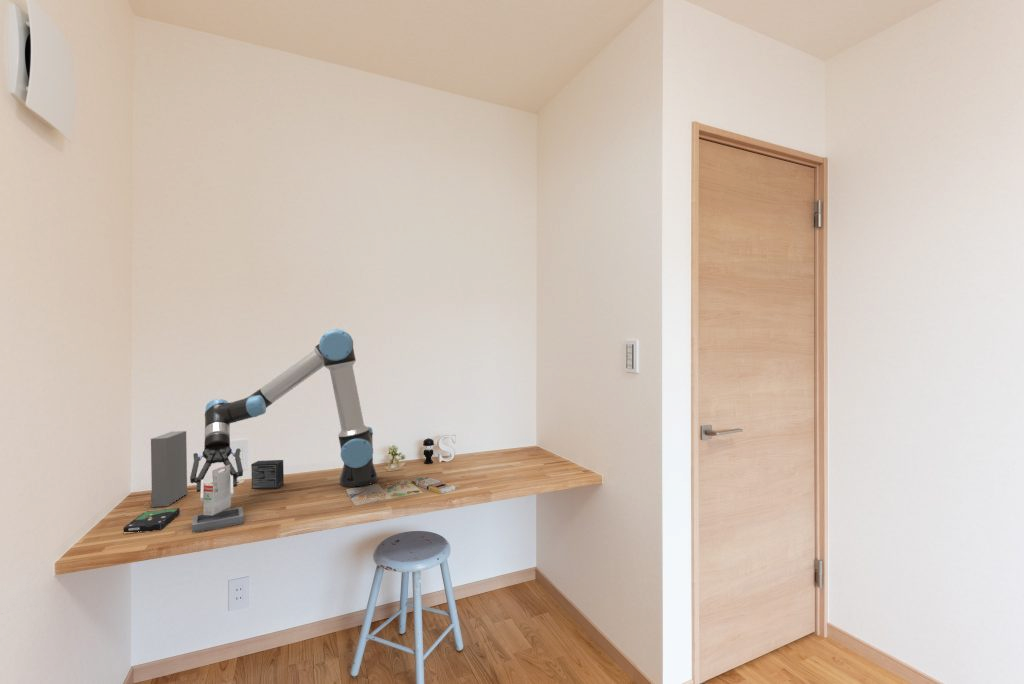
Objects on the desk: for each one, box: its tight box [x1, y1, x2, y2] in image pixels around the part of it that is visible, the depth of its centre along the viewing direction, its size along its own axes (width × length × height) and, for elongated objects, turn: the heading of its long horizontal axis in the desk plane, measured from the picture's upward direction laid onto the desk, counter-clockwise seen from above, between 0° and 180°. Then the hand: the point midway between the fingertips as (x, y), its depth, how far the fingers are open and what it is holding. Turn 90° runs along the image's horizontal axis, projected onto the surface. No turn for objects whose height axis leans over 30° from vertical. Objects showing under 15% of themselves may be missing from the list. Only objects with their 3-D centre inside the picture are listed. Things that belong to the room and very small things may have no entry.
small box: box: [250, 459, 285, 490], centre depth 191 cm, size 11×6×10 cm, turn 94°
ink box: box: [203, 464, 232, 516], centre depth 153 cm, size 4×8×15 cm, turn 172°
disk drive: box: [123, 507, 181, 533], centre depth 154 cm, size 10×3×15 cm
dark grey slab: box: [149, 430, 189, 508], centre depth 175 cm, size 14×6×25 cm, turn 9°
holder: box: [191, 506, 244, 534], centre depth 153 cm, size 14×10×2 cm
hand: (217, 497), depth 150 cm, fingers closed on ink box, 7 cm apart
